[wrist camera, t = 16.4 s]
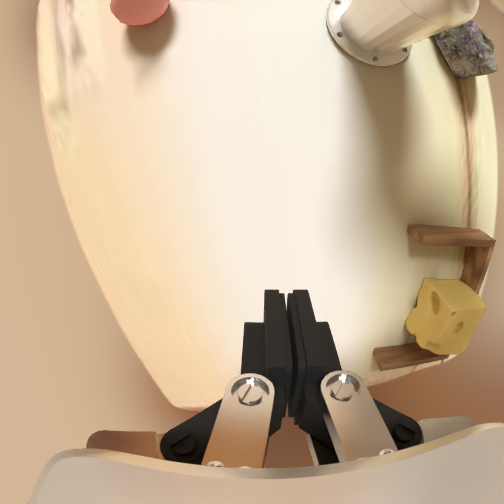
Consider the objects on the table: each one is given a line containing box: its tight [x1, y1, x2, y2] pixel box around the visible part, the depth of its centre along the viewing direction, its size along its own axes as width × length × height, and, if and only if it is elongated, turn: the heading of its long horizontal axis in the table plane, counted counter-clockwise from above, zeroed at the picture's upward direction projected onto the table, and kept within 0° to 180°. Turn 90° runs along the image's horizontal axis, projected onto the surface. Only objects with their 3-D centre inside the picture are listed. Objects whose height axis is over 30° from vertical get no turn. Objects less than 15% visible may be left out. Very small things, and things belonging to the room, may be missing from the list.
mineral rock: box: [434, 20, 498, 79], centre depth 19 cm, size 13×11×10 cm
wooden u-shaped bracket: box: [373, 224, 496, 371], centre depth 40 cm, size 26×17×5 cm, turn 0°
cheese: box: [405, 278, 486, 355], centre depth 38 cm, size 10×11×10 cm
